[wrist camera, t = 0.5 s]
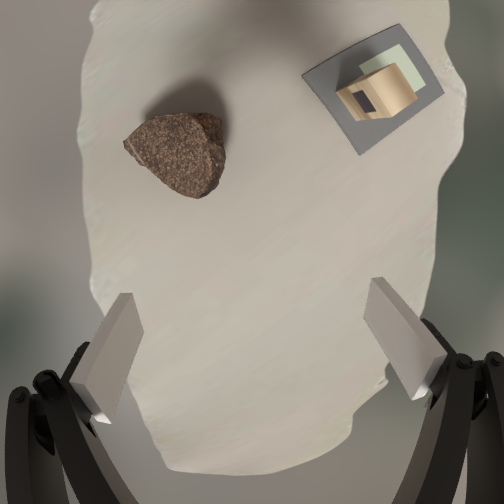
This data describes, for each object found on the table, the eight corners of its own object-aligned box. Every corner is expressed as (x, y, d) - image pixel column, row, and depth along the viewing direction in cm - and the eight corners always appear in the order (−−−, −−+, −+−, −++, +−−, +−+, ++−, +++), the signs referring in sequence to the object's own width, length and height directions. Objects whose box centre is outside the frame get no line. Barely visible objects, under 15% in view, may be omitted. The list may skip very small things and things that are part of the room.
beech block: (355, 121, 33) (391, 117, 24) (334, 92, 32) (366, 79, 23) (378, 104, 32) (418, 98, 23) (359, 77, 31) (395, 62, 22)
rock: (118, 167, 30) (122, 98, 22) (168, 133, 36) (181, 74, 28) (198, 217, 30) (221, 148, 22) (239, 173, 37) (266, 114, 29)
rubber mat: (359, 155, 36) (360, 155, 35) (301, 76, 31) (302, 75, 31) (443, 93, 31) (445, 92, 31) (398, 24, 27) (400, 23, 26)
